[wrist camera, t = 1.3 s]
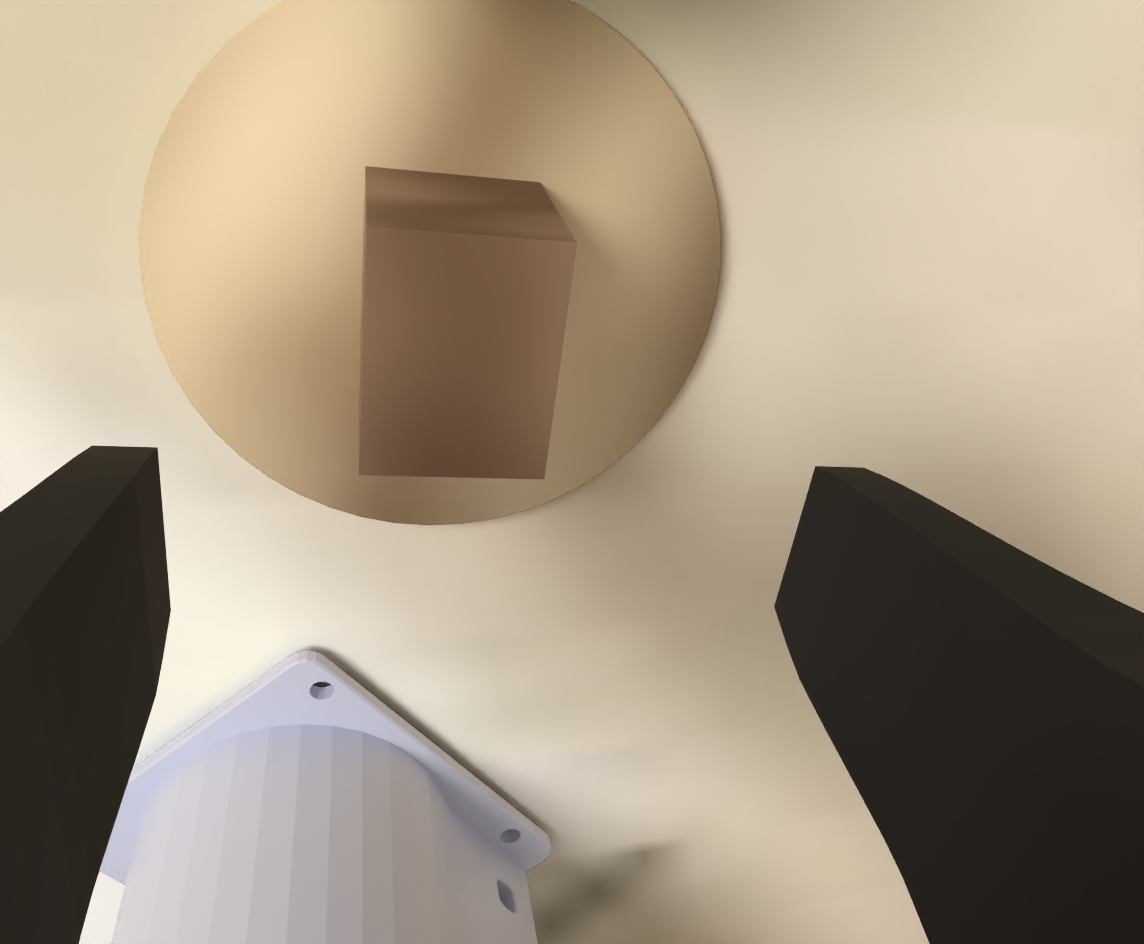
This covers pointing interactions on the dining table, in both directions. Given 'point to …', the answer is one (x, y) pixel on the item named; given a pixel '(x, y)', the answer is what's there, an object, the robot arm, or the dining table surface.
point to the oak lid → (429, 251)
